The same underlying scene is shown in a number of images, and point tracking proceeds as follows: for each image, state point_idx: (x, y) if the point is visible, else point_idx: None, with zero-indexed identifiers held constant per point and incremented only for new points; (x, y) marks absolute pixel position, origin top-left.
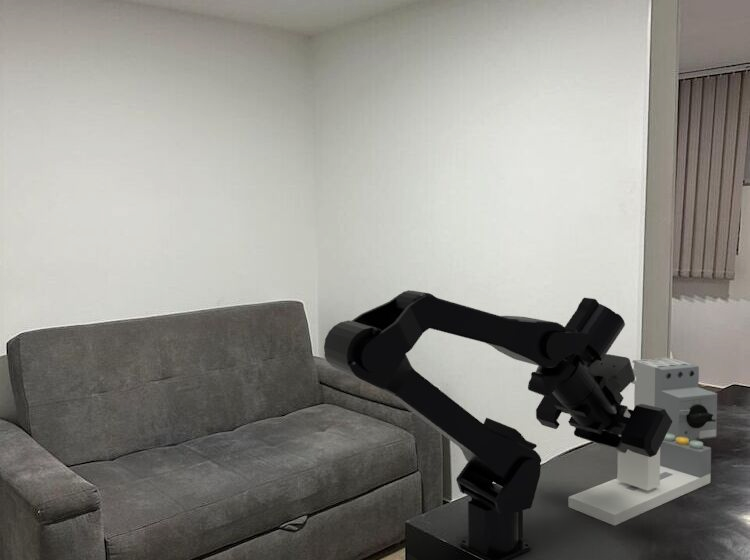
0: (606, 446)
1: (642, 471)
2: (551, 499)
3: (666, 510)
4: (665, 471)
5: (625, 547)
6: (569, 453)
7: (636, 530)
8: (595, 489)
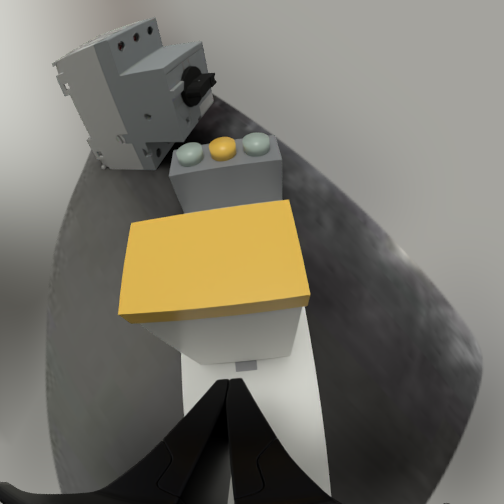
0: (227, 500)
1: (273, 347)
2: None
3: (332, 349)
4: None
5: None
6: (51, 274)
7: (366, 471)
8: None
